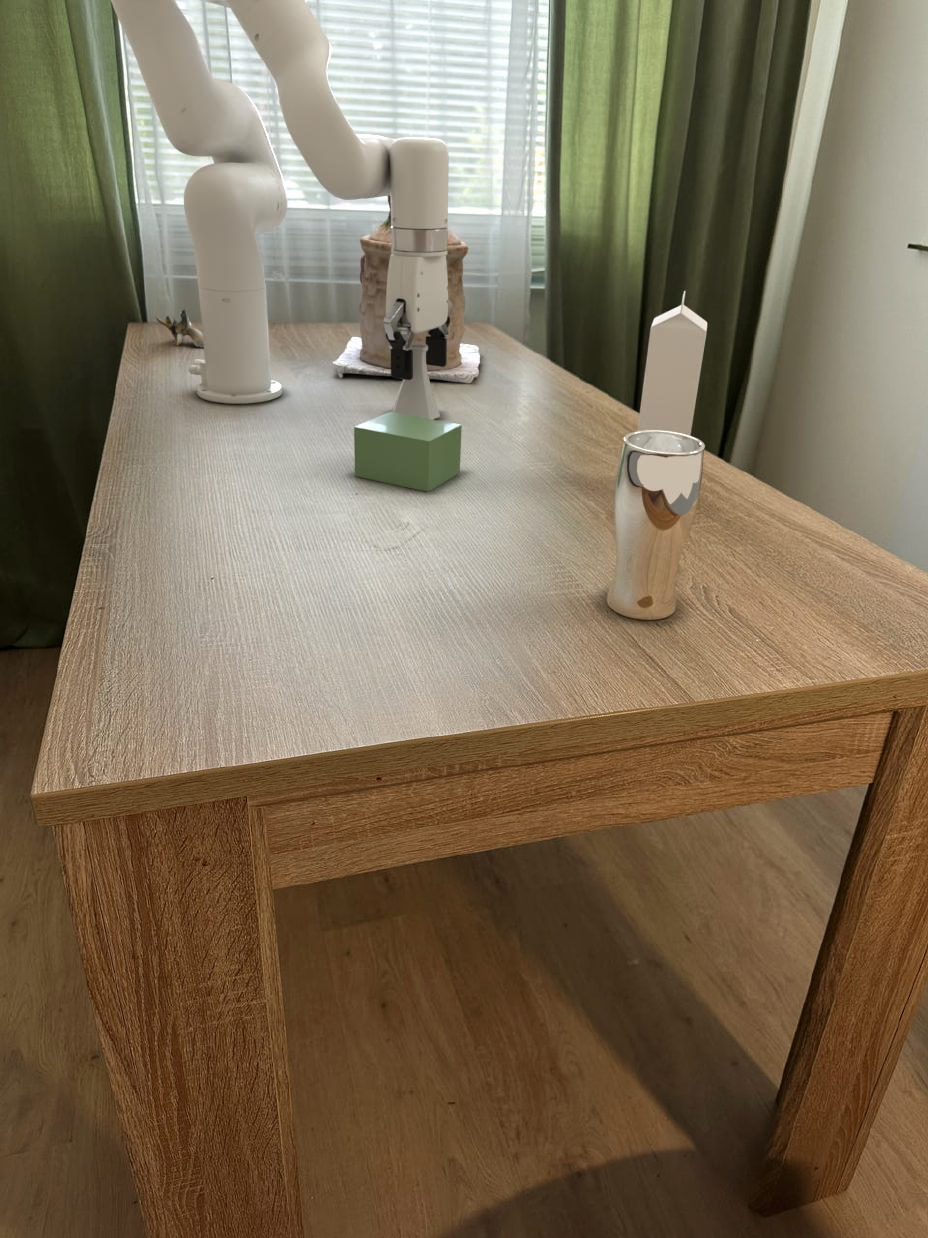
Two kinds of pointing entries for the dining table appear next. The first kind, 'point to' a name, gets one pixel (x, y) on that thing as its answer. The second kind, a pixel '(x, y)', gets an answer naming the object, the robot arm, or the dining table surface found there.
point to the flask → (417, 389)
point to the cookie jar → (373, 346)
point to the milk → (672, 371)
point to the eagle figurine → (183, 329)
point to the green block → (407, 451)
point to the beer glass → (653, 519)
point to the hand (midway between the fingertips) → (419, 371)
